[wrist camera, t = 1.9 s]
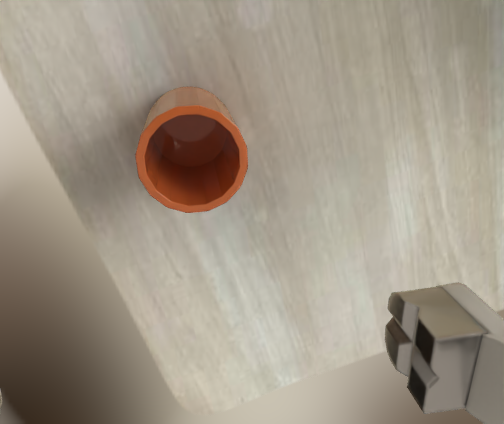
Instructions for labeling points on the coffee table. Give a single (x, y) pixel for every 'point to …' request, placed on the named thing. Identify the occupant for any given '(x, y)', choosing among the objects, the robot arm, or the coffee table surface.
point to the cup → (191, 151)
